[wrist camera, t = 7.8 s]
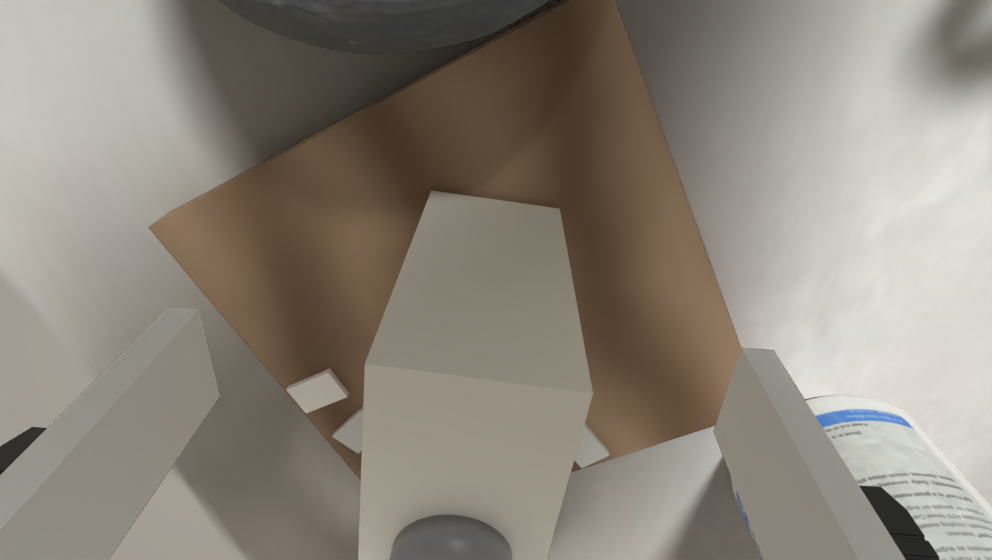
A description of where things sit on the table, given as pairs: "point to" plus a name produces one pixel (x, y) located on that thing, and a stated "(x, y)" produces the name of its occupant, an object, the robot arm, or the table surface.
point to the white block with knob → (473, 388)
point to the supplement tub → (905, 473)
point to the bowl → (383, 21)
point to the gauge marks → (330, 390)
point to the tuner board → (488, 174)
